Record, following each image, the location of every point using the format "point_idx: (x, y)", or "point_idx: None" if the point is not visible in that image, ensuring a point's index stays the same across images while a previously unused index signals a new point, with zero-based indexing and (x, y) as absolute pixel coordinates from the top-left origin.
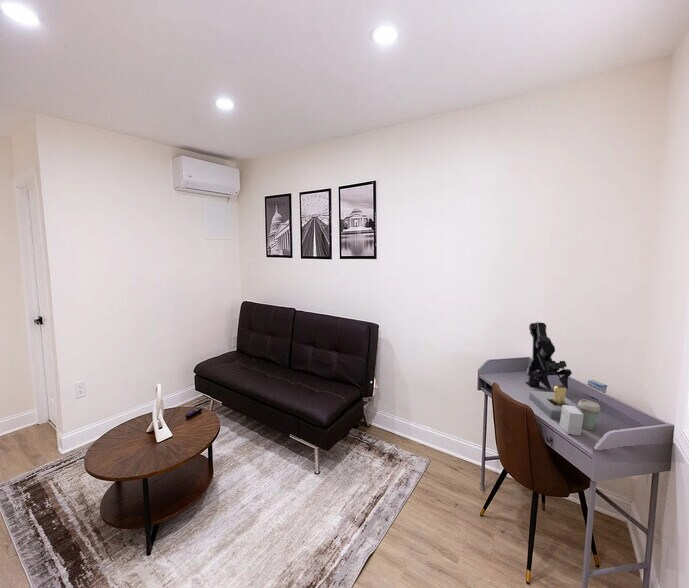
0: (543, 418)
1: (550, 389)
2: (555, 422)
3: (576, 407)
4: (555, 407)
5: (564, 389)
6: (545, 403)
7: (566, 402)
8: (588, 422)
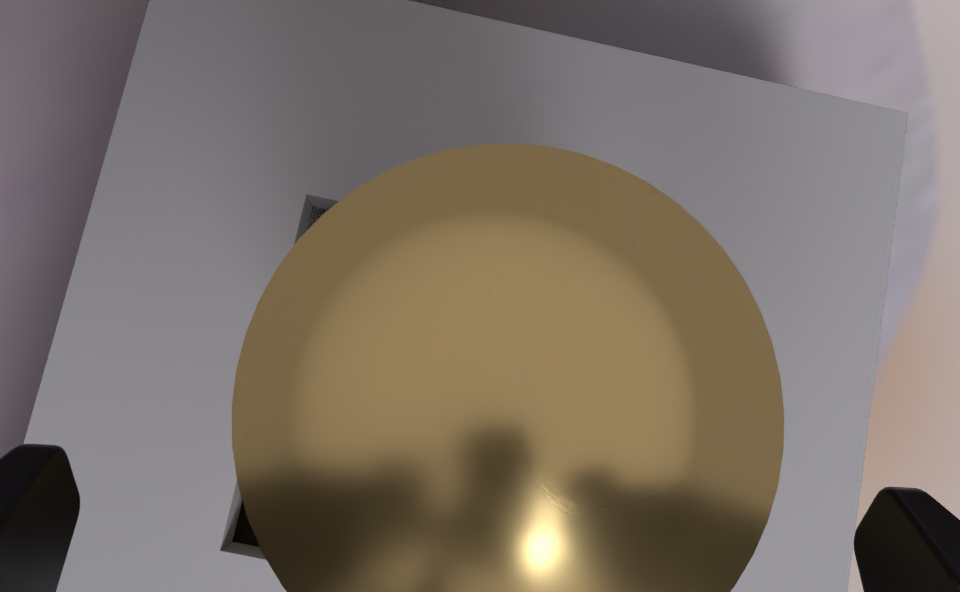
0: (932, 188)
1: (915, 503)
2: (811, 48)
3: (198, 125)
4: (731, 196)
5: (514, 146)
6: (840, 399)
7: (229, 386)
8: None
